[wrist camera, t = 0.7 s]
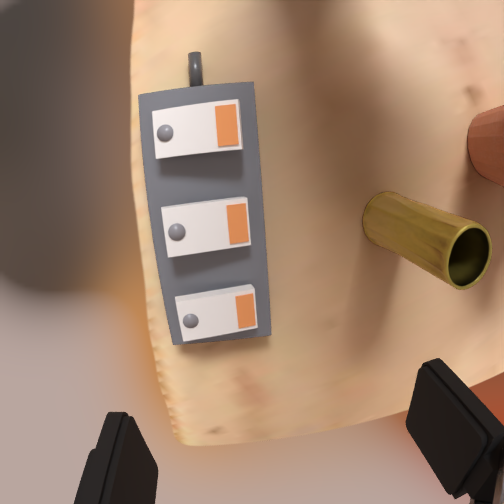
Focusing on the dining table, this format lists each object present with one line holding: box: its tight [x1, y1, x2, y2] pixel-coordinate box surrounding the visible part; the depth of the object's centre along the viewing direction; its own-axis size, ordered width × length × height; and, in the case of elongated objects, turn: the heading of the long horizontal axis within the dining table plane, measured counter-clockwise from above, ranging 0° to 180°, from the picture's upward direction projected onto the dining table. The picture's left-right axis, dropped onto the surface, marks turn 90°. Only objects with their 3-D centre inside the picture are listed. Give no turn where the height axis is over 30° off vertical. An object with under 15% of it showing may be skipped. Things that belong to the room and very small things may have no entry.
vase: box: [363, 192, 492, 290], centre depth 27 cm, size 6×6×14 cm
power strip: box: [138, 52, 271, 345], centre depth 29 cm, size 28×10×4 cm, turn 4°
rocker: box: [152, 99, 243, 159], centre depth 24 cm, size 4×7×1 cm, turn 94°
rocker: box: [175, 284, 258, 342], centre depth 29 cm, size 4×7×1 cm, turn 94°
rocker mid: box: [161, 196, 251, 258], centre depth 27 cm, size 4×7×1 cm, turn 94°
